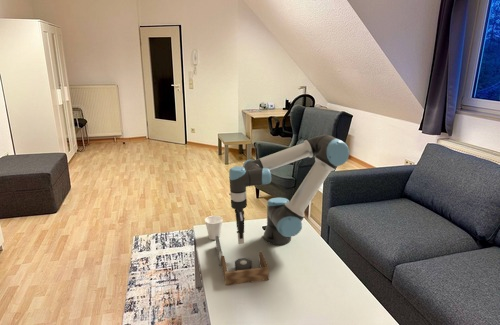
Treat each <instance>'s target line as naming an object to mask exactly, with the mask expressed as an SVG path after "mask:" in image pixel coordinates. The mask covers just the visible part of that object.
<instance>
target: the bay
mask: <svg viewBox="0 0 500 325" xmlns="http://www.w3.org/2000/svg"><path fill="white" fill-rule="evenodd" d="M258 253H259V254H258V261H259V262H258V263H259V265H260V266H259V267H255V268H252V269H246V270H238V271H235V270H231V271H228V267H227V262H226V257H225V255H223V256H222V266H221V270H222V274H223V279H224V283H225V286H231V285H232V286H233V285H240V284H247V283H253V282H254V283H255V282H262V281H269V280H270V279H269V278H270V276H269V274H270V268H269V266H268V263H267V261H266V258H265V256H264V254H263V251H259V252H258Z"/></svg>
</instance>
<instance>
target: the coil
mask: <svg viewBox="0 0 500 325" xmlns="http://www.w3.org/2000/svg"><path fill="white" fill-rule="evenodd" d="M246 269H253V261H252V260H251V259H250V258H247V257H239V258H237V259H235V261H234V271H238V270H246Z"/></svg>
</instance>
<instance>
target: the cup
mask: <svg viewBox="0 0 500 325" xmlns="http://www.w3.org/2000/svg"><path fill="white" fill-rule="evenodd" d="M223 221H224V220H223V217H222V216H220V215H210V216H207V217H205V218H204V222H205V226H206V230H207V236H208V238H209V239H210V240H211V241H216V236H219V239H220V237H221V233H222V226H223Z"/></svg>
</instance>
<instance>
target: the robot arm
mask: <svg viewBox="0 0 500 325" xmlns="http://www.w3.org/2000/svg"><path fill="white" fill-rule="evenodd" d="M349 148H350V147H349V146H348V145H347V143H346V142H344V141H343V140H341V139H339V138H336V137H335V136H332V135H330V134H321V135H316V136H313V137H311V138H307V139H305V140H304V141H303V142H302V143H299V144H297V145H294V146H290V147H288V148H285V149H282V150H279V151H277V152H275V153H271V154H269V155H268V154H267V155H266V156H263V157H260V158H258V159H247V160H245V161H244V163H243V164H242V166H233V167H230V168H229V171H228V172H229V173H228V175H229V176H228V178H229V189H230V193H229V196H230V206H231V208H232V209H233V210H234V214H235V221H236V222H235V223H236V230H237V231H236V233H237V243H238V244H239V245H242V244H245V210H244V209H246V208H247V207H248V201H247V198H248V196H247V187H254V186H264V185H268V184H271V182H272V173H271V170H275V169H277V168H280V167H283V166H286V165H289V164H292V163H294V162H297V161H299V160H302V159H306V158H314V161H315V162H314V164H312V166H311V168H310V170H309V171H308V173H307V174H306V176H305V177H304V179H303V181H302V182H301V184H300V185H299V187H298V188H297V190H296V191H295V193H294V195H293V196H292V197H291V199H290V200H289V199H288V198H286V197H272V198H270V199H268V200H267V204H266V226H265V230H264V232H263V239H264V241H265V243H268V244H270V245H275V246H283V245H287V244H288V243H291V241H292V237H295V236H297V235H298V234H300V232H301V230H302V228H303V224H302V221H303V220H304V218H305V217H306V216H305V211H306V209H307V208H308V206H309V205H310V203H311V201H312V200H313V198H314V197H315V196H316V194H317V193H318V191H319V190H320V188H321V187H322V185H323V184H324V182H325V180H326V179H327V177H328V176H329V174H330V173H331V172H333V171H336V170H337V168H338V167H339V166H340V167H341V166H342V165H344V164H345V163H346V162H348V159H349V157H350V149H349Z"/></svg>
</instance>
